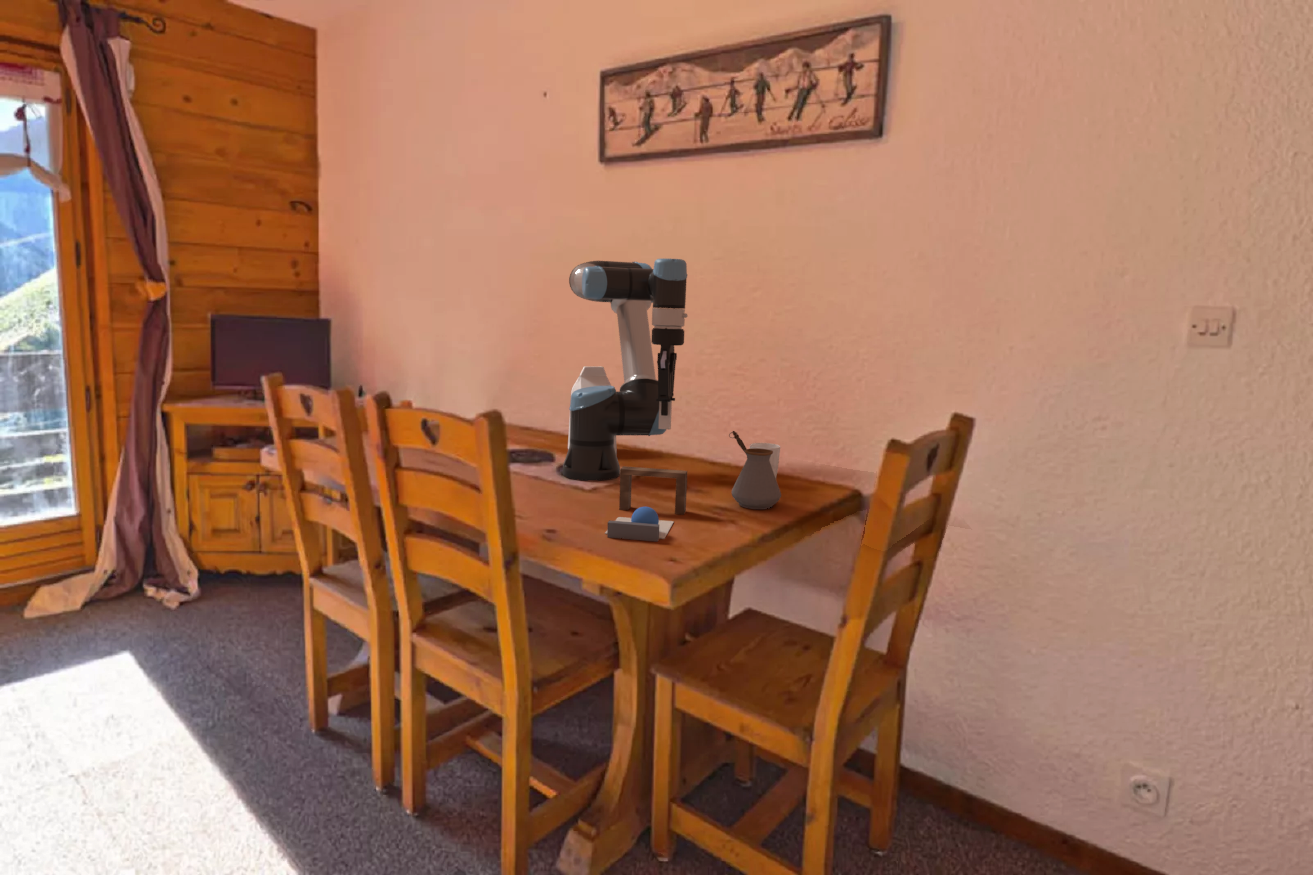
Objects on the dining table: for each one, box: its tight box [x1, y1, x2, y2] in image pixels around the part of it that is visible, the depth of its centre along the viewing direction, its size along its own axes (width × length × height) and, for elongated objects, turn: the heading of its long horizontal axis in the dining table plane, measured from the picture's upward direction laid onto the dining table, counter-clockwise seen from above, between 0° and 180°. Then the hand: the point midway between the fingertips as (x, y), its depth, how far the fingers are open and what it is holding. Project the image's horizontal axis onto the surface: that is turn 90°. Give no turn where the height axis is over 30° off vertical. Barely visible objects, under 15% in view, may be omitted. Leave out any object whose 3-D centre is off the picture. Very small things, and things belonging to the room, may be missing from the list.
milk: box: [567, 366, 618, 455], centre depth 233 cm, size 12×12×26 cm
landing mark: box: [604, 516, 675, 540], centre depth 157 cm, size 12×12×1 cm
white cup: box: [749, 442, 781, 479], centre depth 200 cm, size 8×8×10 cm
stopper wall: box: [606, 520, 660, 542], centre depth 150 cm, size 10×2×3 cm, turn 80°
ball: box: [630, 506, 660, 524], centre depth 153 cm, size 6×6×6 cm
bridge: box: [618, 465, 688, 516], centre depth 170 cm, size 14×3×9 cm, turn 80°
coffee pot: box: [728, 430, 782, 510], centre depth 182 cm, size 21×12×15 cm, turn 17°
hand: (664, 428), depth 180 cm, fingers closed
